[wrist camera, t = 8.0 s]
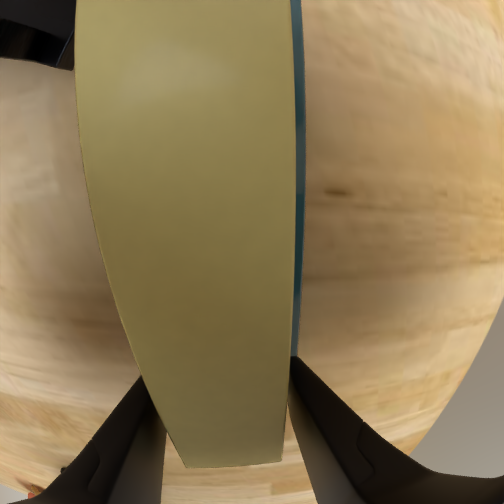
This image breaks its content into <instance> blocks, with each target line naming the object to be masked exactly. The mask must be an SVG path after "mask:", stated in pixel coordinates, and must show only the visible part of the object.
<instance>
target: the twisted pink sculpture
mask: <svg viewBox="0 0 504 504" xmlns="http://www.w3.org/2000/svg"><path fill="white" fill-rule="evenodd" d="M32 491H33V493H34V494H33V493H31V492H30V493H28V499H29V498H32V497H35V496H37V495H38V494H40V493H41V492H40V491H38V490H37V489H36V488H35V487H34V486H33V485H32Z"/></svg>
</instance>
